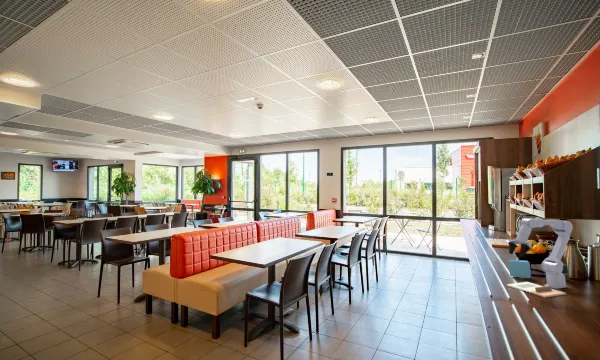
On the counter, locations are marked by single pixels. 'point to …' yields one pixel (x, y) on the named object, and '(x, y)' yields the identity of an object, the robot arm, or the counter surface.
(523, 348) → the counter surface
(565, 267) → the beer bottle
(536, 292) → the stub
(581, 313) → the counter surface
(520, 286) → the board
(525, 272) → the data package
